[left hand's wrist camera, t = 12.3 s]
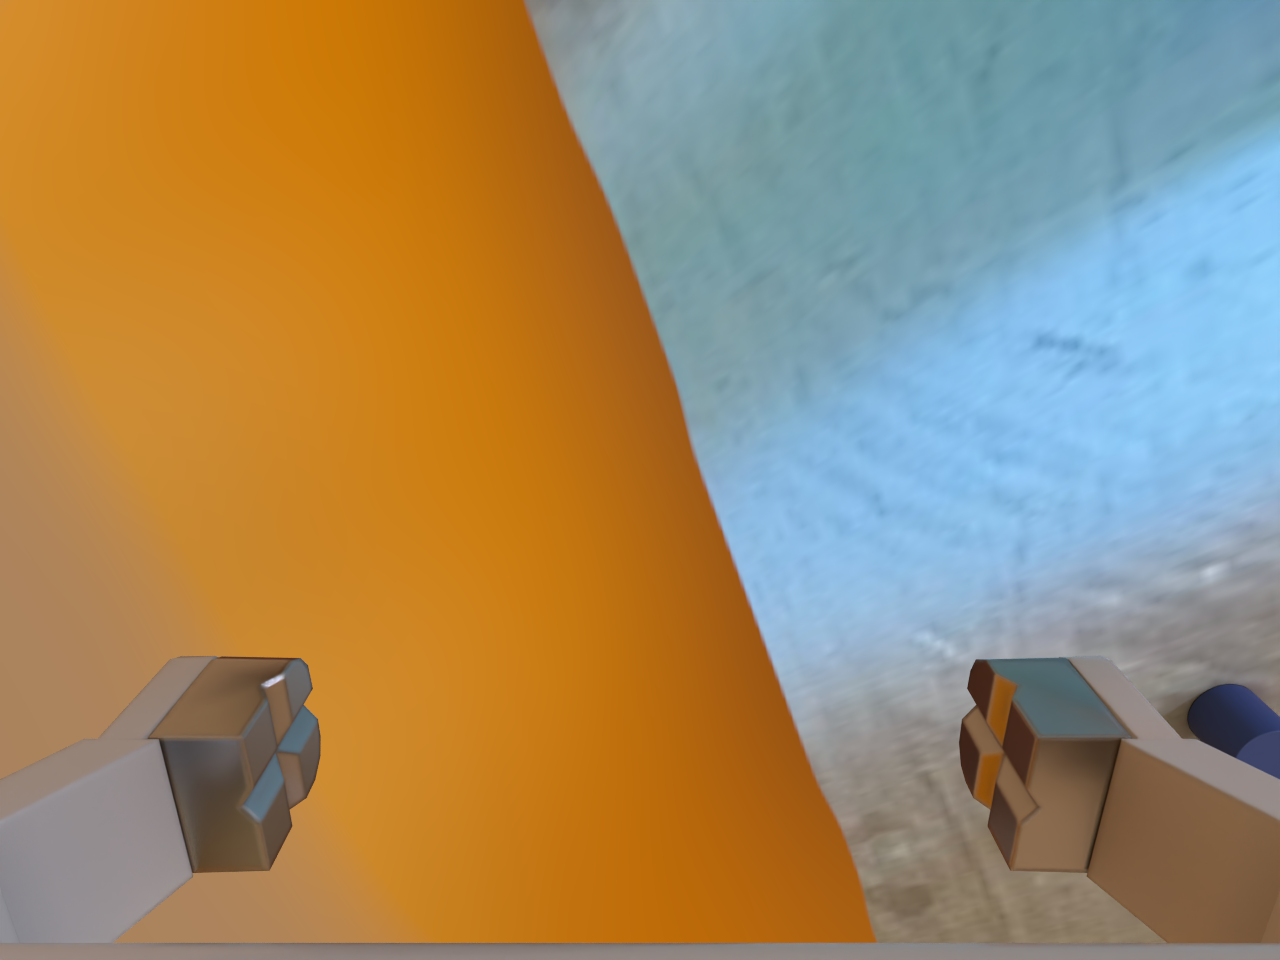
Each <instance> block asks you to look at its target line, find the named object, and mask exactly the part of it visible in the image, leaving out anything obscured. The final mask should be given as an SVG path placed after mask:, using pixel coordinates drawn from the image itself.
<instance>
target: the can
mask: <svg viewBox="0 0 1280 960" xmlns="http://www.w3.org/2000/svg"><path fill="white" fill-rule="evenodd" d="M1188 723H1189V727H1190V729H1191V730H1192V732H1193V733H1194V734H1195V735H1196V736H1197V737H1198V738H1199V739H1200V741H1201V742H1203V743H1205V744H1207V745H1209V746H1211V747H1214V748H1216V749H1218V750H1220V751H1222V752H1224V753H1226V754H1228V755H1230V756H1232V757H1234V758H1236V759H1238V760H1240V761H1242V762H1245V763H1247V764H1249V765H1251V766H1253V767H1255V768H1257V769H1259V770H1261V771H1263V772H1265V773H1267V774H1269V775H1271V776H1273V777H1276V778H1278V779H1280V717H1279V716H1278V715H1277V714H1276V713H1275V712H1274V711H1273V710H1271V709H1270V708H1269V707H1268V706H1267V705H1266V704H1265V703H1264V702H1263V701H1262V700H1260V699H1259V698H1258V697H1257V696H1256V695H1255V694H1254V693H1253V692H1252V691H1250V690H1249V689H1247V688H1245V687H1243V686H1239V685H1222V686H1218V687H1215V688H1212V689H1210V690H1208V691H1206V692H1205V693H1203V694H1202V695H1201V696H1200V697H1199V698H1198V699H1197V700H1196V701H1195V702H1194V703H1193V705H1192V706H1191V708H1190V711H1189V714H1188Z"/></svg>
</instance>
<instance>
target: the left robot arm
mask: <svg viewBox="0 0 1280 960" xmlns="http://www.w3.org/2000/svg"><path fill="white" fill-rule="evenodd" d="M312 689H313V688H312V683H311V678H310V673H309V668H308V665H307V664H306V663H305V662H304V661H303V660H302V659H301V658H264V657H216V656H189V657H177V658H174V659H170V660H169V661H168V662H167V663H166V664H165V665H164V667H163V668H162V669H161V670H160V671H159V672H158V673H157V674H156V675H155V676H154V678H153V679H152V680H151V681H150V682H149V683H148V684H147V685H146V686H145V687H144V689H143V690H142V691H141V692H140V693H139V694H138V695H137V696H136V697H135V698H134V699H133V701H132V702H131V703H130V704H129V705H128V706H127V707H126V708H125V709H124V710H123V712H122V713H121V714H120V715H119V716H118V717H117V718H116V719H115V720H114V722H113V723H112V724H111V725H110V726H109V727H108V728H107V729H106V730H105V731H104V732H103V734H102V735H101V736H100V737H99V738H98V739H83V740H81V741H79V742H77V743H75V744H73V745H71V746H68V747H66V748H64V749H62V750H60V751H58V752H56V753H54V754H52V755H50V756H48V757H46V758H44V759H42V760H39V761H37V762H35V763H33V764H31V765H29V766H27V767H25V768H23V769H21V770H19V771H17V772H15V773H13V774H10V775H8V776H7V777H4V778H2V779H0V960H1280V779H1278V778H1276V777H1273V776H1271V775H1269V774H1267V773H1265V772H1263V771H1261V770H1259V769H1257V768H1255V767H1253V766H1251V765H1249V764H1247V763H1245V762H1242V761H1240V760H1238V759H1236V758H1234V757H1232V756H1230V755H1228V754H1226V753H1224V752H1222V751H1220V750H1218V749H1216V748H1214V747H1211V746H1209V745H1207V744H1205V743H1203V742H1201V741H1199V740H1197V739H1182V738H1181V737H1180V736H1179V735H1178V734H1177V732H1176V731H1175V730H1174V729H1173V728H1172V727H1171V726H1170V725H1169V724H1168V723H1167V721H1166V720H1165V719H1164V718H1163V717H1162V716H1161V715H1160V714H1159V713H1158V712H1157V710H1156V709H1155V708H1154V707H1153V706H1152V705H1151V704H1150V703H1149V702H1148V701H1147V699H1146V698H1145V697H1144V696H1143V695H1142V694H1141V693H1140V692H1139V691H1138V690H1137V688H1136V687H1135V686H1134V685H1133V684H1132V683H1131V682H1130V681H1129V680H1128V679H1127V677H1126V676H1125V675H1124V674H1123V673H1122V672H1121V671H1120V670H1119V669H1118V668H1117V666H1116V665H1115V664H1114V663H1113V662H1112V661H1111V660H1109V659H1107V658H1104V657H1102V656H1081V657H1059V658H1025V659H977V660H976V661H975V663H974V665H973V667H972V669H971V671H970V677H969V682H968V687H967V689H968V691H969V692H970V694H971V696H972V698H973V699H974V701H975V703H976V704H977V705H976V706H975V707H974V708H973V709H972V710H971V711H970V712H969V713H968V714H967V715H966V716H965V717H964V718H963V719H962V724H961V732H960V740H959V747H960V759H961V767H962V770H963V774H964V777H965V781H966V783H967V785H968V788H969V790H970V792H971V794H972V796H973V798H974V799H976V800H977V801H979V802H980V803H982V804H983V805H984V806H986V807H987V808H989V809H990V816H989V822H988V828H989V830H990V832H991V834H992V835H993V837H994V839H995V841H996V843H997V845H998V847H999V849H1000V851H1001V853H1002V855H1003V857H1004V859H1005V861H1006V863H1007V865H1008V867H1009V869H1010V870H1011V871H1041V872H1077V873H1087V877H1088V878H1089V879H1091V880H1092V881H1093V882H1094V883H1096V884H1097V885H1098V886H1099V887H1100V888H1102V889H1103V890H1104V891H1105V892H1107V893H1108V894H1109V895H1110V896H1111V897H1113V898H1114V899H1115V900H1116V901H1117V902H1119V903H1120V904H1121V905H1122V906H1124V907H1125V908H1126V909H1127V910H1128V911H1130V912H1131V913H1132V914H1133V915H1134V916H1136V917H1137V918H1138V919H1139V920H1141V921H1142V922H1143V923H1144V924H1145V925H1147V926H1148V927H1149V928H1150V929H1151V930H1153V931H1154V932H1155V933H1156V934H1158V935H1159V936H1160V937H1161V938H1162V939H1164V940H1165V941H1166V942H1167V943H113V942H114V941H115V940H117V939H118V938H119V937H120V936H121V935H123V934H124V933H125V932H126V931H128V930H129V929H130V928H131V927H132V926H134V925H135V924H136V923H137V922H139V921H140V920H141V919H142V918H143V917H145V916H146V915H147V914H148V913H149V912H151V911H152V910H153V909H154V908H156V907H157V906H158V905H159V904H160V903H162V902H163V901H164V900H165V899H167V898H168V897H169V896H170V895H171V894H173V893H174V892H175V891H176V890H177V889H179V888H180V887H181V886H182V885H184V884H185V883H186V882H187V881H188V880H190V879H191V878H192V877H193V874H192V873H202V872H237V871H269V870H270V869H271V867H272V865H273V863H274V861H275V859H276V857H277V855H278V853H279V851H280V849H281V847H282V845H283V843H284V841H285V839H286V837H287V835H288V833H289V832H290V830H291V828H292V822H291V816H290V809H291V808H293V807H294V806H296V805H297V804H298V803H300V802H301V801H303V800H304V799H306V798H307V796H308V794H309V792H310V789H311V787H312V785H313V783H314V781H315V778H316V773H317V769H318V764H319V760H320V730H319V724H318V719H317V718H316V717H315V716H314V715H313V714H312V713H311V712H310V711H309V710H308V709H307V708H306V707H305V706H304V705H303V704H304V703H305V701H306V699H307V698H308V696H309V694H310V692H311V691H312Z"/></svg>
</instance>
